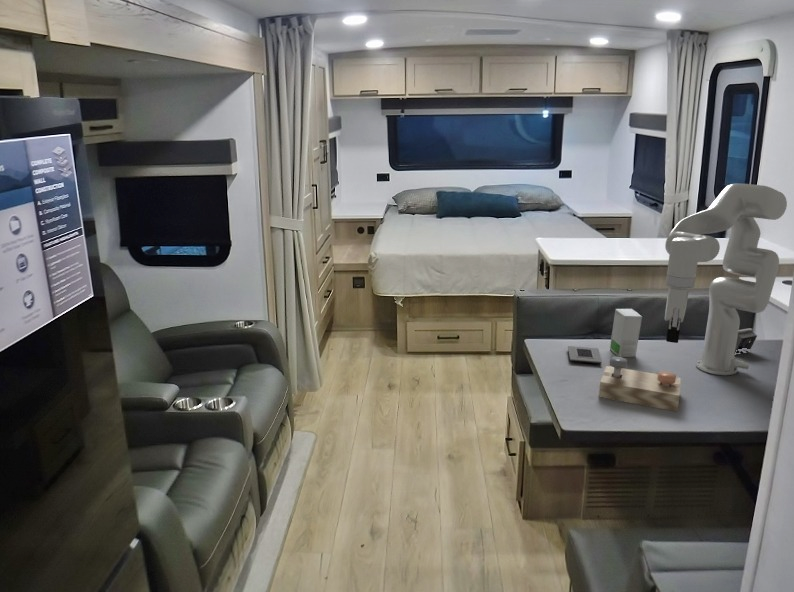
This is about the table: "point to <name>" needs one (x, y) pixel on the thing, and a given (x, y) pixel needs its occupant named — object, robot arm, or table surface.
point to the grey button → (618, 365)
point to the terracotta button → (666, 378)
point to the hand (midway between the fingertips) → (672, 341)
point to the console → (639, 389)
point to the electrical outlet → (584, 354)
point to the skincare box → (625, 332)
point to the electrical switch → (745, 339)
